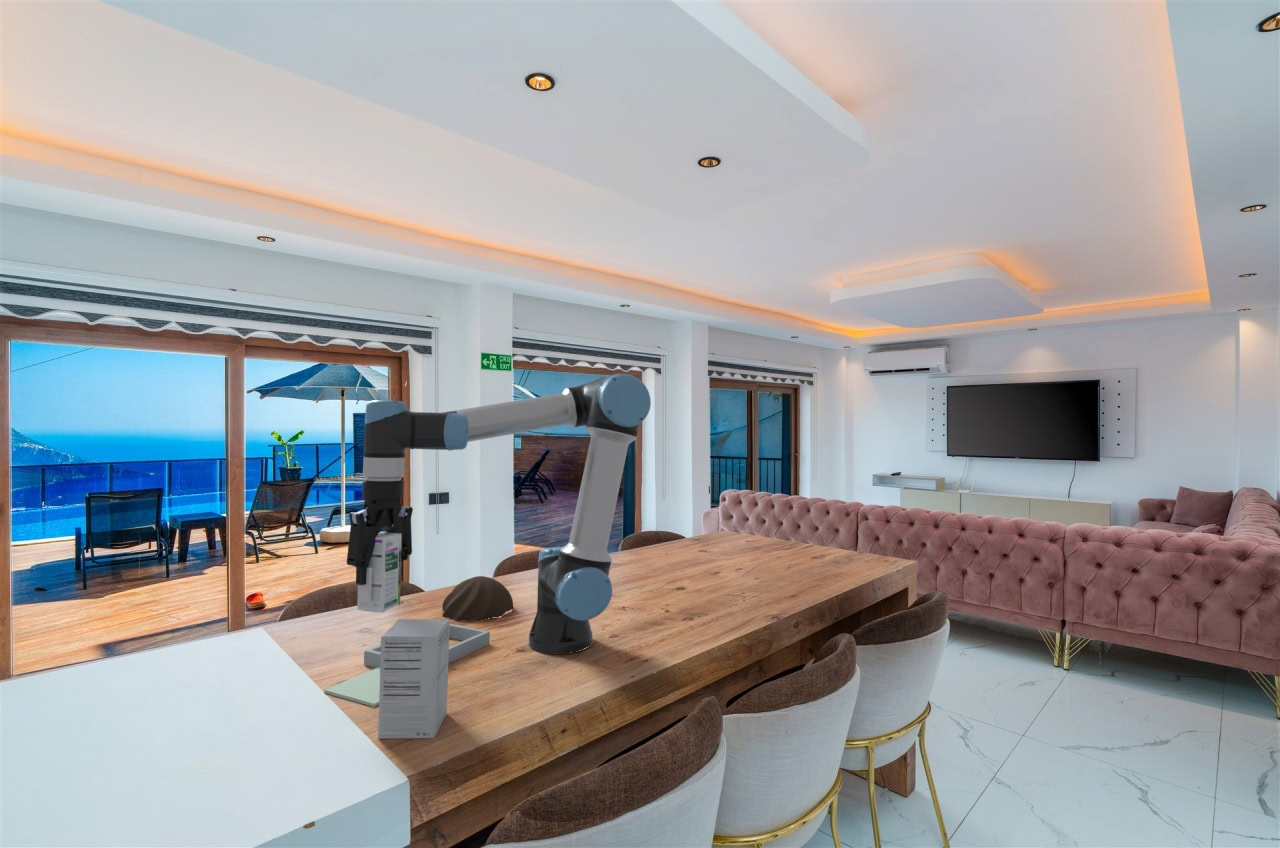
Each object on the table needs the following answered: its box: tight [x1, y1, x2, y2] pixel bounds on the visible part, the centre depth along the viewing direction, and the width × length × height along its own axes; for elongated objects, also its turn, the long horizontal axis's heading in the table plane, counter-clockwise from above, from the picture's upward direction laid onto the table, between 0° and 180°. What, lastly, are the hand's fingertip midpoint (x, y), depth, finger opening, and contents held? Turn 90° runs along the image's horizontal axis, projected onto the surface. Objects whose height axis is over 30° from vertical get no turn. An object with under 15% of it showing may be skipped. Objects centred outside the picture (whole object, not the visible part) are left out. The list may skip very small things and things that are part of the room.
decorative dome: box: [441, 575, 514, 622], centre depth 173 cm, size 19×20×10 cm
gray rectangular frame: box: [363, 623, 491, 669], centre depth 139 cm, size 15×23×3 cm, turn 155°
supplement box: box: [377, 618, 451, 740], centre depth 105 cm, size 10×9×17 cm
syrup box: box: [356, 531, 402, 613], centre depth 120 cm, size 6×6×14 cm
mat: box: [323, 667, 380, 708], centre depth 120 cm, size 13×13×1 cm
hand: (379, 596), depth 120 cm, fingers closed on syrup box, 6 cm apart
